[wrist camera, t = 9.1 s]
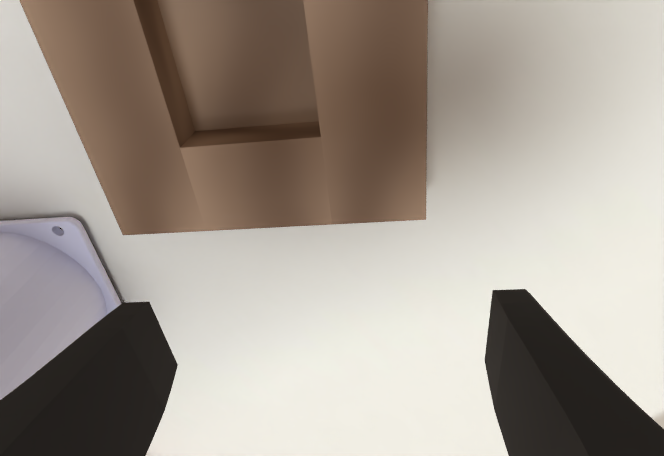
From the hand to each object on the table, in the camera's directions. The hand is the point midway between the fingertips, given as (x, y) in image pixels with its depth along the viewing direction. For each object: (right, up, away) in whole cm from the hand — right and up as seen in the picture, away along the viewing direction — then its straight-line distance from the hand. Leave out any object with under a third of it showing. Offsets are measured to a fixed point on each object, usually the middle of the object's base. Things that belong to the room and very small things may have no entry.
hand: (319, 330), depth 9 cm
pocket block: (-3, +8, +6) cm, 11 cm away
